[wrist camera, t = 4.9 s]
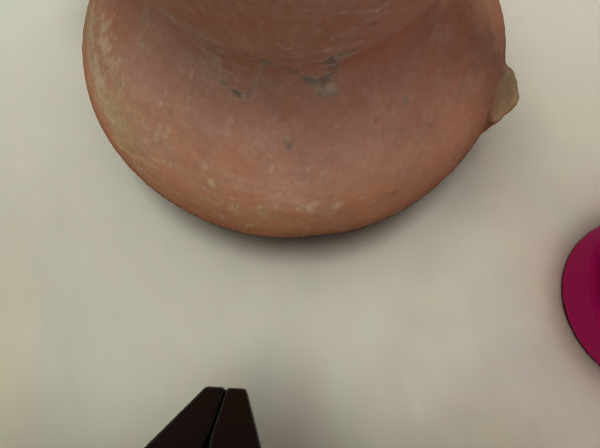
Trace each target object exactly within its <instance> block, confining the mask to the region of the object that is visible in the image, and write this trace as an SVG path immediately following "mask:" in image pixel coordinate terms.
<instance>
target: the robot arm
mask: <svg viewBox="0 0 600 448" xmlns="http://www.w3.org/2000/svg"><path fill="white" fill-rule="evenodd" d="M144 448H261V444H260V440H259V436H258V432H257V428H256V424H255V420H254V416H253V413H252V409H251V405H250V401H249V397H248V393H247V391H246V390H245V389H241V388H228V389H227V390H226V389H225V388H223V387H211V386H208V387H205V388H204V389H203V390H202V391H201V392H200V393H199V394H198V395H197V396H196V397H195V398H194V399H193V400H192V401H191V402H190V403H189V404H188V405H187V406H186V407H185V408H184V409H183V410H182V411H181V412H180V413H179V414H178V415H177V416H176V417H175V418H174V419H173V420H172V421H171V422H170V423H169V424H168V425H167V426H166V427H165V428H164V429H163V430H162V431H161V432H160V433H159V434H158V435H157V436H156V437H155V438H154V439H153V440H152V441H151V442H150V443H149V444H147V445H146V446H145V447H144Z"/></svg>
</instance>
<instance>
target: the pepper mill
mask: <svg viewBox="0 0 600 448" xmlns="http://www.w3.org/2000/svg"><path fill="white" fill-rule="evenodd" d="M563 301H564V305H565V308H566V312H567V315H568V319H569V322H570V324H571V326H572V328H573V330H574V332H575V334H576V336H577V338H578V340H579V341H580V342H581V344H582V345H583V347H584V348H585V349H586V351H587V352H588V353H589V354H590V355H591V356H592V357H593V358H594V360H595V361H596V362H597V363H598V364H599V365H600V227H598V228H595V229H594V230H592V231H591V232H589V233H588V234H587V235H586V236H585V237H583V238H582V239H581V240H580V241H579V243H578V244H577V245H576V246H575V248H574V249H573V251H572V253H571V255H570V256H569V259H568V262H567V265H566V268H565V272H564V276H563Z"/></svg>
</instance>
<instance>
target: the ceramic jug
mask: <svg viewBox="0 0 600 448" xmlns="http://www.w3.org/2000/svg"><path fill="white" fill-rule="evenodd" d="M505 48H506V39H505V26H504V20H503V14H502V10H501V6H500V3H499V0H90V1H89V4H88V8H87V13H86V18H85V24H84V30H83V45H82V53H83V66H84V74H85V80H86V85H87V89H88V93H89V97H90V100H91V103H92V107H93V109H94V112H95V114H96V116H97V119H98V121H99V123H100V125H101V127H102V129H103V131H104V133H105V134H106V136H107V137H108V139H109V141H110V142H111V144H112V146H113V147H114V149H115V150H116V151H117V153H118V154H119V155H120V156H121V158H122V159H123V160H124V161H125V162H126V164H127V165H128V166H129V167H130V168H131V169H132V170H133V171H134V172H135V173H136V174H137V175H138V176H139V177H140V178H141V179H142V180H143V181H144V182H145V183H146V184H148V185H149V186H150V187H151V188H153V189H154V190H155V191H156V192H158V193H159V194H160V195H162V196H163V197H164V198H166V199H167V200H169V201H170V202H172V203H173V204H175V205H176V206H178V207H180V208H182V209H183V210H185V211H187V212H189V213H191V214H193V215H195V216H197V217H199V218H201V219H203V220H206V221H208V222H211V223H213V224H216V225H218V226H221V227H224V228H228V229H231V230H235V231H239V232H242V233H245V234H250V235H257V236H267V237H280V238H285V237H303V236H310V235H321V234H335V233H340V232H347V231H351V230H356V229H359V228H362V227H365V226H368V225H371V224H373V223H376V222H378V221H381V220H383V219H385V218H388V217H390V216H392V215H394V214H396V213H398V212H400V211H402V210H404V209H405V208H407V207H409V206H410V205H412V204H413V203H415V202H416V201H418V200H419V199H421V198H422V197H423V196H425V195H426V194H427V193H429V192H430V191H431V190H432V189H433V188H435V187H436V186H437V185H438V184H439V183H440V182H441V181H442V180H443V179H445V178H446V177H447V176H448V175H449V174H450V173H451V172H452V171H453V170H454V169H455V168H456V167H457V165H458V164H459V163H460V162H461V160H462V159H463V158H464V157H465V156H466V154H467V153H468V152H469V150H470V149H471V148H472V146H473V145H474V143H475V142H476V140H477V139H478V138H479V136H480V135H481V134H482V133H483V132H484V131H486V130H487V129H488V128H490V127H491V126H492V125H494V124H496V123H497V122H498V121H500V120H501V118H502V117H503V116H504V115H505V114H507V113H508V112H510V111H511V110H512V109H513V108H514V107H515V106H516V104H517V102H518V100H519V93H518V87H517V81H516V78H515V75H514V72H513V70H512V69H511V68H509V67H508V66H507V65H506V62H505Z"/></svg>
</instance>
